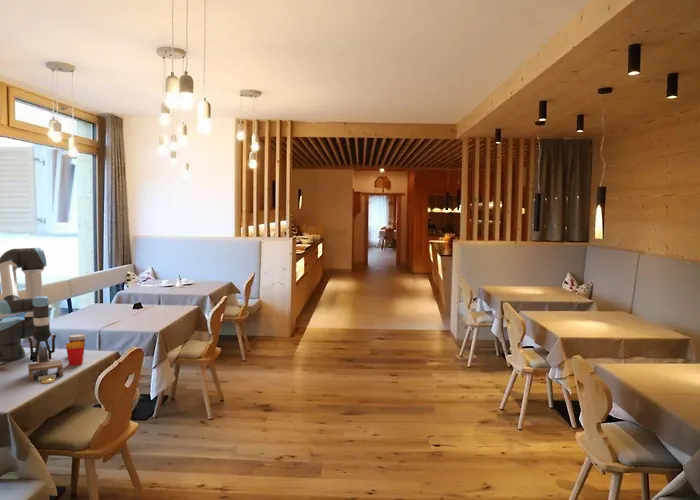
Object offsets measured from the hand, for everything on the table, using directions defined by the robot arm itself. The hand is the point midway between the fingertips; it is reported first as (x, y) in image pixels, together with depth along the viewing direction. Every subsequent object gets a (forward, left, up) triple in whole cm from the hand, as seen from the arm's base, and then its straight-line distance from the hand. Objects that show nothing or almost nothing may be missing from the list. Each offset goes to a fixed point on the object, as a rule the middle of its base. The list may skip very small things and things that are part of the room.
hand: (43, 366), depth 289 cm
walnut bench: (+12, 0, -2) cm, 13 cm away
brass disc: (+23, 0, -3) cm, 23 cm away
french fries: (-3, +16, -2) cm, 16 cm away
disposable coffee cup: (-23, +20, -2) cm, 30 cm away
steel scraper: (+9, 0, -2) cm, 9 cm away
